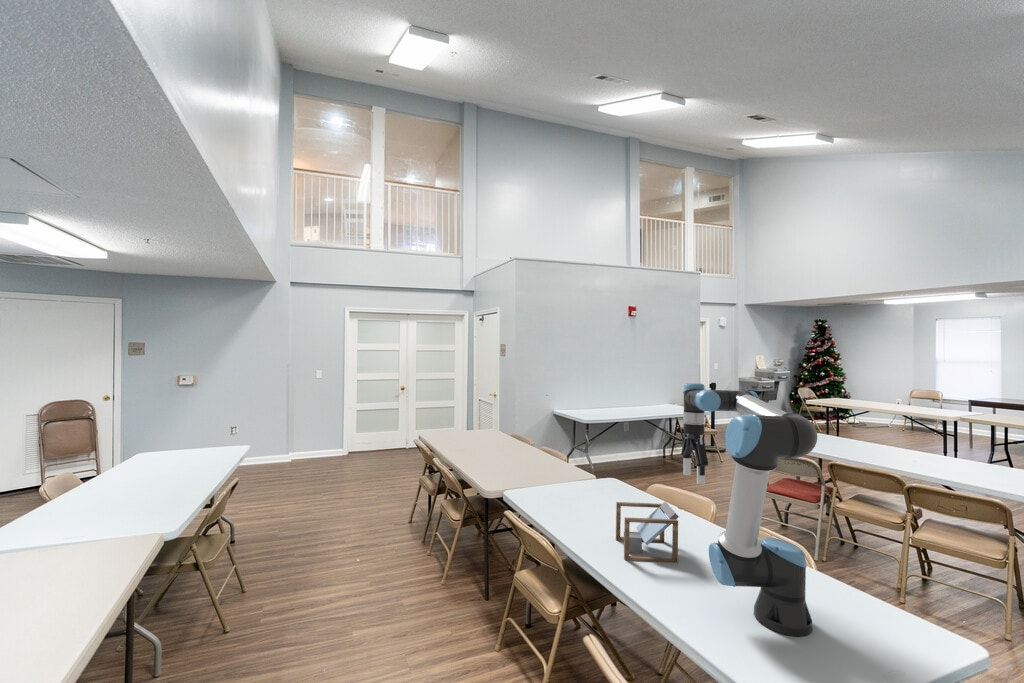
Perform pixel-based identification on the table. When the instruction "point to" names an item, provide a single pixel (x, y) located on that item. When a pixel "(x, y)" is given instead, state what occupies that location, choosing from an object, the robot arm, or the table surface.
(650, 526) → the plate
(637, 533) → the gray cube
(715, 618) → the table surface
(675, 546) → the frame
